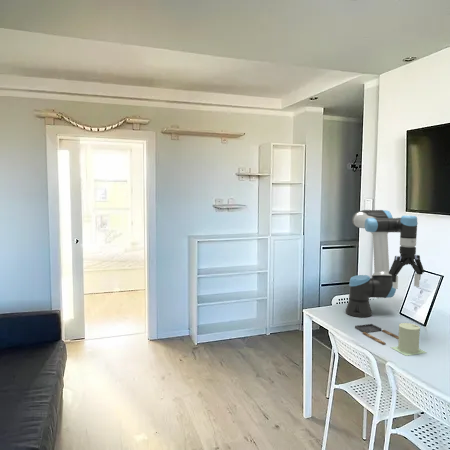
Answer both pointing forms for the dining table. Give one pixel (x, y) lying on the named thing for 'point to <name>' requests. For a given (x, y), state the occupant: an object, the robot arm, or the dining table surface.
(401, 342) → the can
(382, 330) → the lane
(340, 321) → the dining table surface
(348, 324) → the dining table surface
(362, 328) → the tray
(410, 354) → the mat
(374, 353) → the dining table surface
